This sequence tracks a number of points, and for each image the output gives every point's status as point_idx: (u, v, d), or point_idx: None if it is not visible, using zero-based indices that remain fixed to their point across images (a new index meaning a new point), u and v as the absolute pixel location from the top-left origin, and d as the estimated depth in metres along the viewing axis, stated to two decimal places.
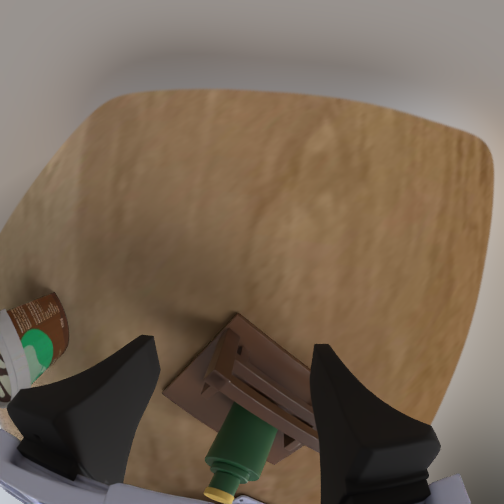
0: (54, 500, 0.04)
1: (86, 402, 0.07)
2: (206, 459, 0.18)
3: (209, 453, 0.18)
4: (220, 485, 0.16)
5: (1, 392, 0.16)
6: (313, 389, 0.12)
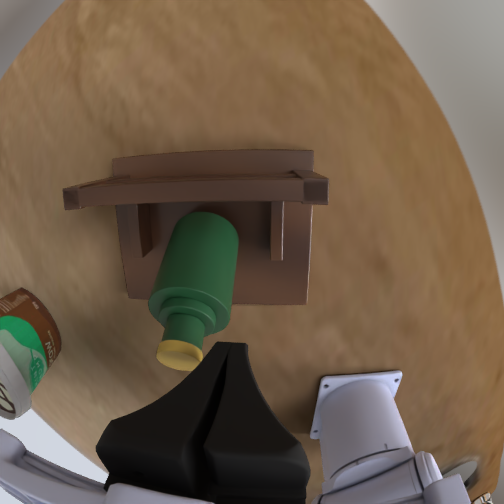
0: (54, 500, 0.04)
1: (198, 425, 0.07)
2: (158, 319, 0.16)
3: None
4: (166, 334, 0.14)
5: (11, 396, 0.17)
6: None
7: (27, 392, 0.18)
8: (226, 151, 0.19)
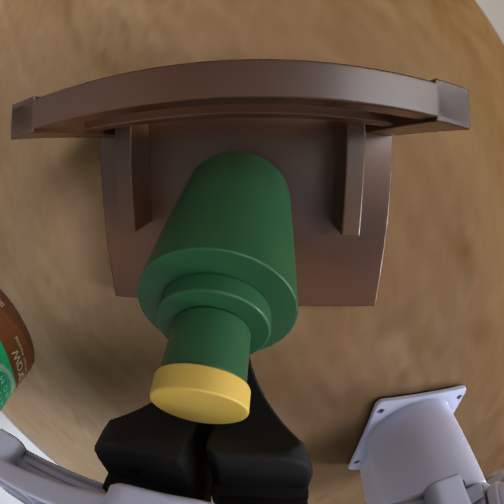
0: (54, 500, 0.04)
1: (197, 424, 0.07)
2: (155, 323, 0.09)
3: None
4: (172, 351, 0.06)
5: None
6: None
7: None
8: None
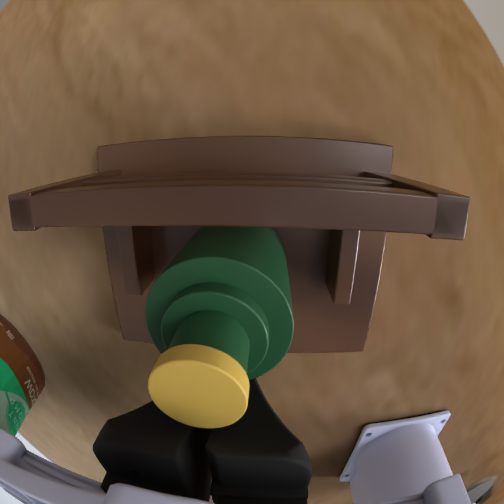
0: (54, 500, 0.04)
1: None
2: (157, 343, 0.09)
3: None
4: (175, 341, 0.06)
5: None
6: None
7: None
8: (270, 138, 0.12)
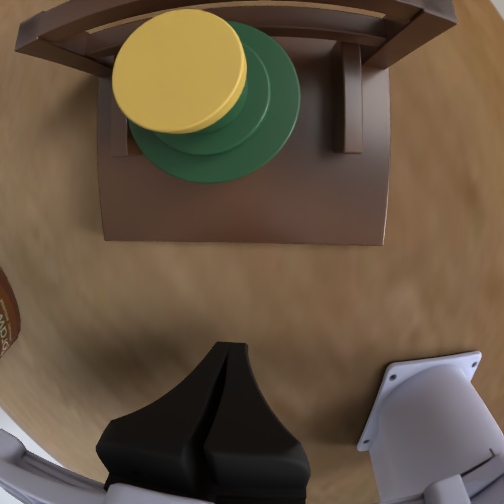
0: (54, 500, 0.04)
1: (198, 425, 0.07)
2: (135, 131, 0.07)
3: None
4: None
5: None
6: None
7: None
8: None
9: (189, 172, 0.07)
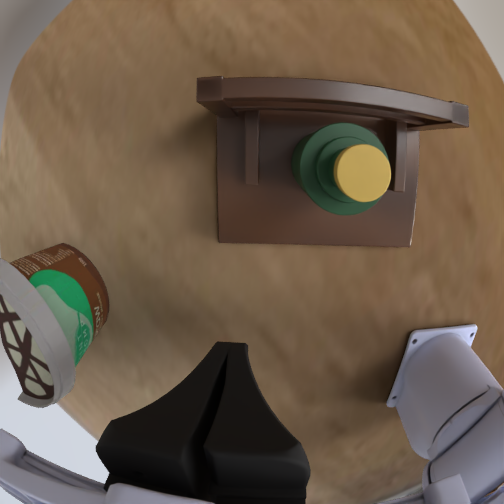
0: (54, 500, 0.04)
1: (198, 425, 0.07)
2: (305, 182, 0.13)
3: (299, 167, 0.13)
4: None
5: (47, 375, 0.16)
6: None
7: (72, 368, 0.16)
8: None
9: (335, 209, 0.14)
